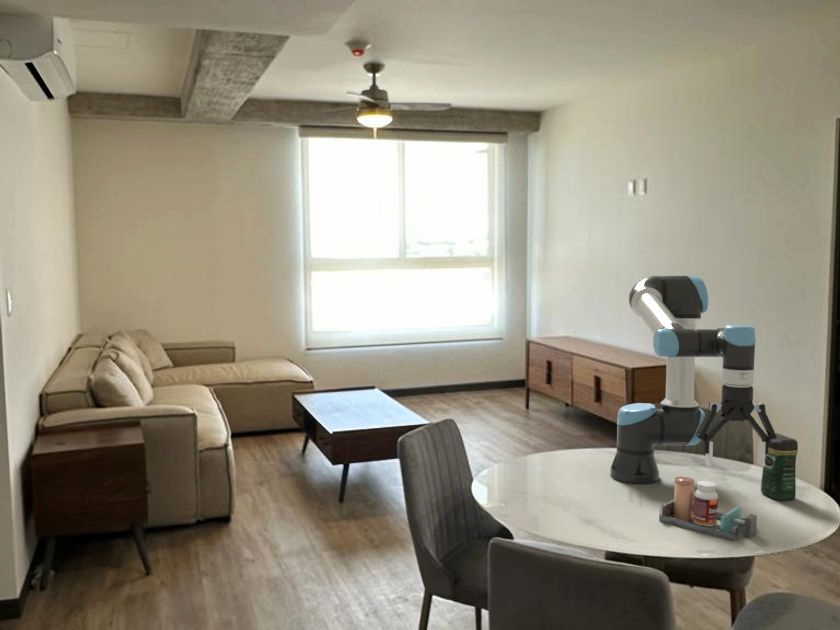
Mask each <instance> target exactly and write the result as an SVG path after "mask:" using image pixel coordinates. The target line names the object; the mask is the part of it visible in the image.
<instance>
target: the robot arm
mask: <svg viewBox="0 0 840 630" xmlns="http://www.w3.org/2000/svg"><path fill="white" fill-rule="evenodd" d="M708 293H709V292H708V289H707V286H706V284H705V281H704V280H703V279H702V278H701V277H700V276H695V275H693V276H692V275H651V276H650V275H649V276H647V277H645V278H642V279H640V280H638V282H636V283H635V284H634V285H633V286H632V288H631V290H630V291H629V295H628V302H629V305H630V306H629V307H630V308H631V310H632V311H633V312H634V314H635V315H637V316H638V317H641V318H642V320H643V321H644V323H645V324H646V325H647V327H648V328H649V330H650V331H651V332H652V334H653V338H652V341H653V342H652V343H653V344H652V346H653V350H654V353H655V354H656V356H658V357H666V363H665V364H666V367H665V368H666V373H665V376H666V378H665V398H663V400H662V401H660V408H657V407H656V405H654V404H653V403H650V402H649V403H648V402H647V403H644V402H637V403H636V402H635V403H631V404H626V405H623V406H621V407H620V408H619V409H618V413H617V419H616V425H617V426H616V452H615V454H614V455H615V456H614V457H613V459H612V463H611V466H610V477H611V478H612V479H615V480H618V481H620V482H624V483H629V484H638V485H639V484H641V485H642V484H652V483H654V482H658V481H659V480H660V470H659V466H658V464H657V459H656V457H655V446H683V447H687V446H696V445H698V444H699V443H700V442H701V441H702V452H703V454H705V465H706V466H707V467H709V468H713V455H714V454H713V453H714V442H713V441H712V439H713V438H714V437H715V436H716V435H717V433H718V432H719V431H720V430H721V429H722V428H723V427H724V425H725V424H727V423H729V421H731V422H737V421H739V422H744V421H746V422H747V423H748V424H749V426H751V428H752V429H753V430H754V431H755V432H756V434H757V435H758V436H759V438H760V439H757V457H756V459H757V460H756V464H757V466H759V467H760V468H761V467H762V468H763V467H765V453H768V449H769V442H771V440H772V439H776V438H777V436H776V434H775V433H776V432H775V430H774V427H773V425H772V423H771V422H770V421H771V420H770V419H769V417H768V414H767V412H766V405H765V404H764V403H762V402H756V403H754V402H753V400H754V388H753V385H754V379H755V378H754V375H755V357H756V356H755V353H756V351H755V350H756V341H757V339H756V329H755V327H754V326H753V325H747V324H727V325H725V326H724V327H716V328H711V329H710V328H709V329H708V328H707V329H706V328H702V329H701V328H700V329H699V328H696V327H697V325H696V324H697V323H698V322H699V321H700V320H701V319H702V314H704V313H706V312H707V310H708V306H709V294H708ZM696 358H722V372H721V373H722V374H721V375H722V376H721V382H722V383H723V385H721V403H719V404H718V403H714V402H709V403H708V409H707V412H706V414H705V412H704V410H703V409H701V408H700V404H699V403H698V402H697V401H696V400H695V372H696V371H695V367H696V366H695V365H696V364H695V363H696ZM754 410H755V412H756V413H757V415H758V418H759V420H760V422H761V424H762V426H763V428H764V430H765V431H764V430H763V428H762V427H761V426H760V425H759V424H758V422H757V421H756V420H755V418H754V417H753V415H752V413H753V412H754ZM719 411H721V413H720V414H719V416H718V418H717V419H716V420H715V421H714V423H713V420H714V418H715V417H716V415H717V413H719ZM766 434H767V435H766Z"/></svg>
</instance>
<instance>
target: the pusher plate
mask: <svg viewBox="0 0 840 630" xmlns="http://www.w3.org/2000/svg"><path fill="white" fill-rule="evenodd" d="M741 512H742V507H741V506H735V507H734V508H732V509H731V510H729V511H728V512H726V513H725V515H723V516H721V519H720V529H719V530H722V531H726V532H729V533H731V532H732V527H734V526H736V527H738V528H739V526H741V524H745V525H744V531H743V533H744V534H743V535H744V537H746V538H748V539H751V538H752V537H754V536H756V535H757V521H758V519H757V518H758V517H757V516H758V515H756V514H753V513H750V514H749V515H747V516H745V517H744V518H745V520H741V519H740V517H741V515H742V514H741ZM741 518H742V517H741ZM740 523H741V524H740Z"/></svg>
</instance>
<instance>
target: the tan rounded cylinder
mask: <svg viewBox="0 0 840 630" xmlns="http://www.w3.org/2000/svg"><path fill="white" fill-rule="evenodd" d="M673 481H674V496H673V499H674V515H673V518H677V519H680V520H684V521H688V522H691V521H693V502H694V492H695V490H694V489H695V479H694V478H693V477H689V476H676V477H674V480H673Z"/></svg>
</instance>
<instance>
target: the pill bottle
mask: <svg viewBox="0 0 840 630" xmlns="http://www.w3.org/2000/svg"><path fill="white" fill-rule="evenodd" d="M716 486H717V485H716V483H715V482H712V481H709V480H708V481H706V480H701V481H697V484H696V487H697V488H696V490H694V497H693V519H692V523H696V524H699V525H703V526H707V527H711V528H713V527H715V526H717V521H718V518H717V512H718V505H719V504H718V503H719V494H718V492H717V491H716V490H717V487H716Z"/></svg>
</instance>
